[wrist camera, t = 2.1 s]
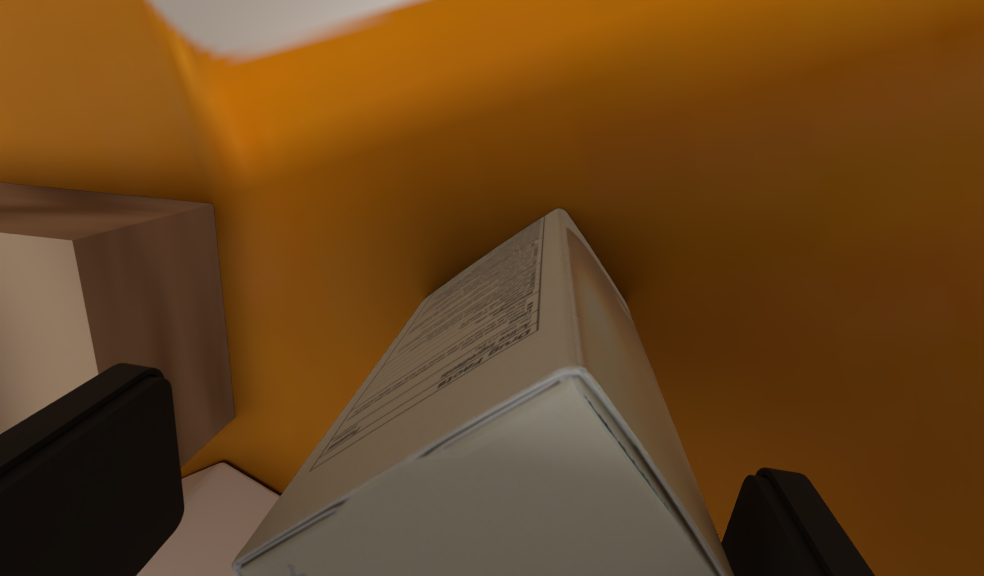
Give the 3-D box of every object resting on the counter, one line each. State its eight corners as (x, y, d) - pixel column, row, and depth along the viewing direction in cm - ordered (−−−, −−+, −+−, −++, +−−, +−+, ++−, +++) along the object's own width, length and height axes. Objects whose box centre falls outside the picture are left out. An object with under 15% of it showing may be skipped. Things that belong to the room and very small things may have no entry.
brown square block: (216, 202, 19) (72, 240, 14) (237, 414, 22) (126, 517, 16) (-4, 180, 20) (-226, 207, 14) (45, 387, 23) (-123, 476, 17)
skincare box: (488, 387, 20) (387, 762, 8) (419, 297, 19) (202, 577, 8) (638, 300, 18) (768, 629, 7) (568, 197, 17) (578, 365, 6)
